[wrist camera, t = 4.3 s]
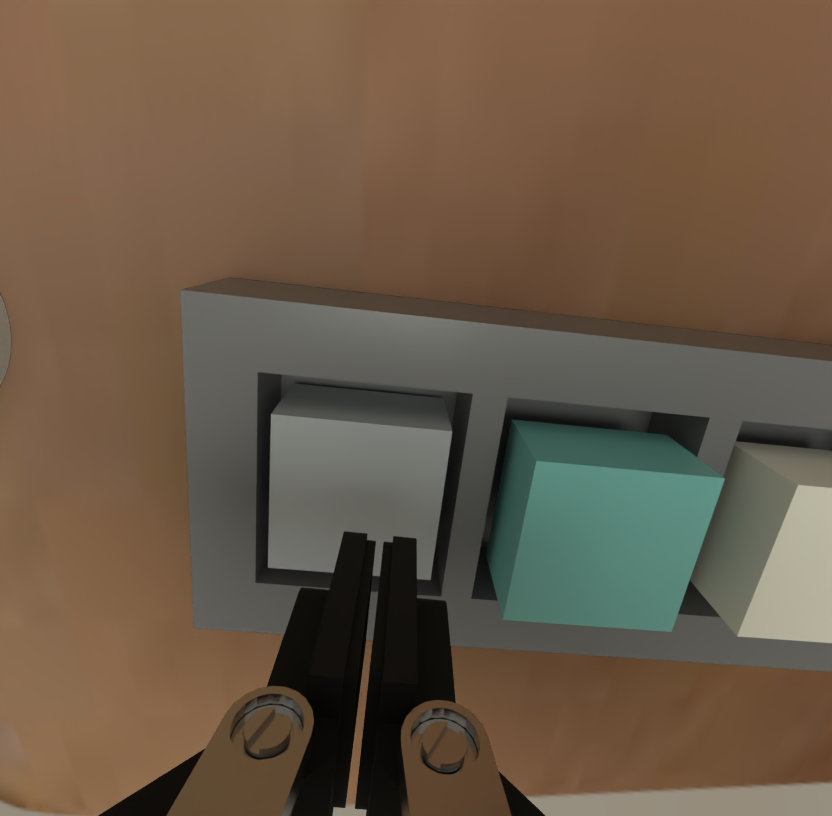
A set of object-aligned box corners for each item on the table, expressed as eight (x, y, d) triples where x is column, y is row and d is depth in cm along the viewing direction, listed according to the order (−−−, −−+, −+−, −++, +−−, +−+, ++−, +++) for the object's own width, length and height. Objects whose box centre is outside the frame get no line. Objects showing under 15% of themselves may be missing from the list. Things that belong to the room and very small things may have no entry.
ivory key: (873, 454, 16) (974, 501, 13) (816, 582, 18) (895, 647, 15) (727, 440, 16) (798, 484, 13) (682, 571, 17) (736, 636, 15)
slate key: (443, 398, 17) (452, 431, 14) (425, 526, 18) (430, 580, 15) (293, 383, 16) (271, 414, 14) (288, 515, 18) (267, 567, 15)
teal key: (666, 434, 16) (725, 478, 13) (627, 567, 17) (671, 632, 14) (511, 419, 15) (536, 460, 13) (486, 555, 17) (503, 619, 14)
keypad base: (897, 352, 18) (1027, 383, 14) (790, 598, 22) (872, 674, 18) (230, 277, 17) (180, 289, 13) (232, 554, 20) (193, 628, 16)
